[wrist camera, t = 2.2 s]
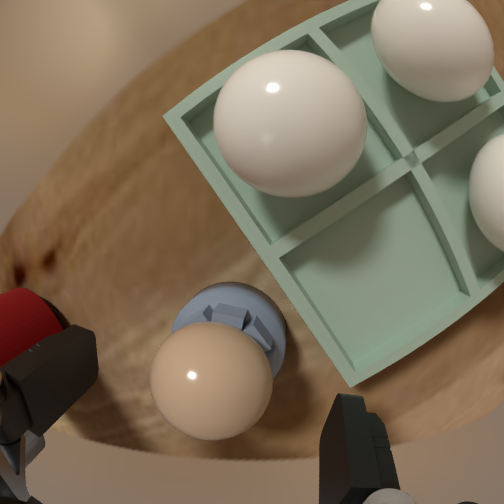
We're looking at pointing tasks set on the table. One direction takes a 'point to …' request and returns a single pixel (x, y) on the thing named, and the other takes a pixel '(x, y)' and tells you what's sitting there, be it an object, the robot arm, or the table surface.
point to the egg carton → (368, 205)
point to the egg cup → (240, 316)
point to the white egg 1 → (290, 123)
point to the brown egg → (210, 380)
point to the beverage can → (23, 322)
